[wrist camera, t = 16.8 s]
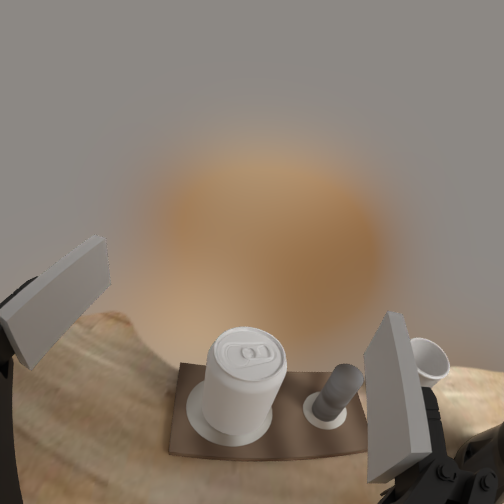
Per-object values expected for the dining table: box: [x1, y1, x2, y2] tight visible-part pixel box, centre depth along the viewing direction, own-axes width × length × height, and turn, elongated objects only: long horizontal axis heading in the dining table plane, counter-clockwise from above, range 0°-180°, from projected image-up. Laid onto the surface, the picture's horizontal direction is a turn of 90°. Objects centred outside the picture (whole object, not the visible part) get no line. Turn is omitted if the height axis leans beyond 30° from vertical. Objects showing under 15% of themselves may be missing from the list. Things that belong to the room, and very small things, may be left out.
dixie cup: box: [410, 338, 450, 388], centre depth 37 cm, size 8×8×10 cm
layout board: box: [169, 363, 368, 461], centre depth 33 cm, size 26×14×9 cm, turn 92°
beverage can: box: [202, 327, 287, 436], centre depth 31 cm, size 8×8×12 cm
